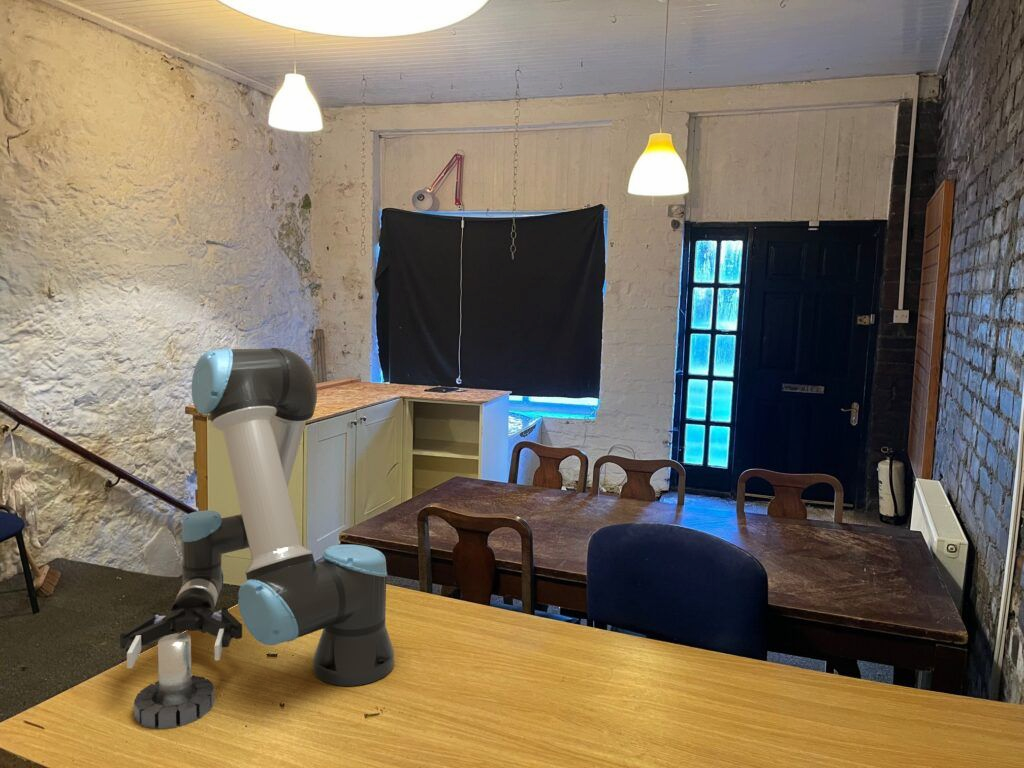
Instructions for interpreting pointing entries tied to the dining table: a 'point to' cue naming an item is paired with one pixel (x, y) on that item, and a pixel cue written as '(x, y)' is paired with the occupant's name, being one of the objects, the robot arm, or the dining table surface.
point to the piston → (174, 669)
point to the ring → (172, 715)
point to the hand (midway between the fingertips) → (173, 656)
